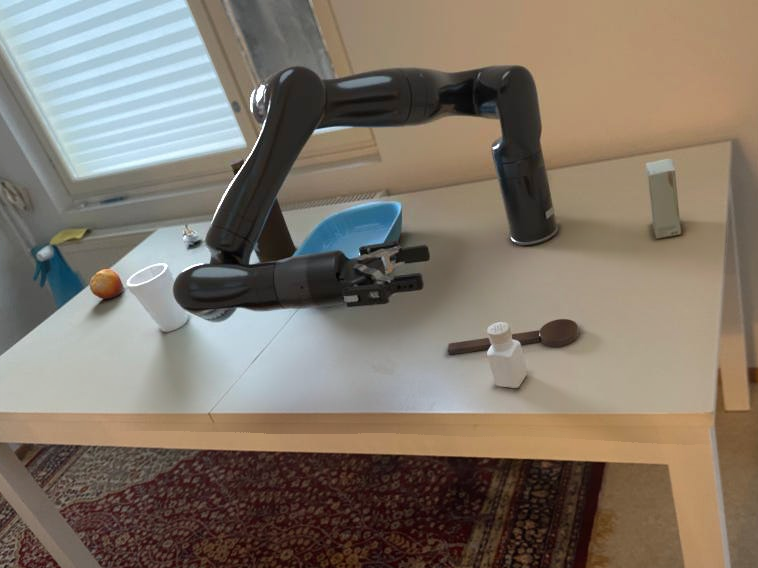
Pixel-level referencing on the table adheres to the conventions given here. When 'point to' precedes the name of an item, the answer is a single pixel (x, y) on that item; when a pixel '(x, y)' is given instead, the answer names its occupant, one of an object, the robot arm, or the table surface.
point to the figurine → (189, 236)
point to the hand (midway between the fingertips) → (425, 266)
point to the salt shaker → (505, 356)
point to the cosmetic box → (663, 198)
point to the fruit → (106, 284)
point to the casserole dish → (355, 229)
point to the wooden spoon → (527, 337)
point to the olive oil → (271, 231)
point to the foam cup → (158, 296)
